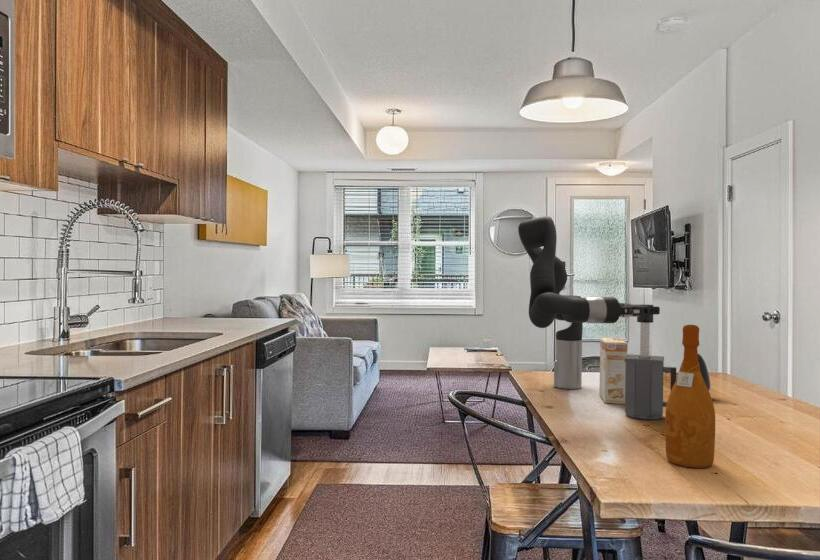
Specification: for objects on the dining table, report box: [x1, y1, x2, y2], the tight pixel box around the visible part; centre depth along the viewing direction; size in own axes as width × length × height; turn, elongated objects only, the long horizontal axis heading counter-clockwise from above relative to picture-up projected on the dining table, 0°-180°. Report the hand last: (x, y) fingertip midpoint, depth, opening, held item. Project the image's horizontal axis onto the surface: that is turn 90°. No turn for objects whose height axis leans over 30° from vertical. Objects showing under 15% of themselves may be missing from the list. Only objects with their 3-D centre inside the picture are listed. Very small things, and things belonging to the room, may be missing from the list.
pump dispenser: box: [677, 353, 711, 391], centre depth 201 cm, size 10×10×15 cm
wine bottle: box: [664, 324, 716, 469], centre depth 131 cm, size 10×10×30 cm
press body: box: [624, 353, 677, 421], centre depth 173 cm, size 13×10×17 cm
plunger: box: [636, 303, 654, 358], centre depth 174 cm, size 8×8×23 cm
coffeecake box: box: [598, 337, 629, 405], centre depth 198 cm, size 15×7×20 cm, turn 168°
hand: (653, 309), depth 174 cm, fingers closed on plunger, 4 cm apart
